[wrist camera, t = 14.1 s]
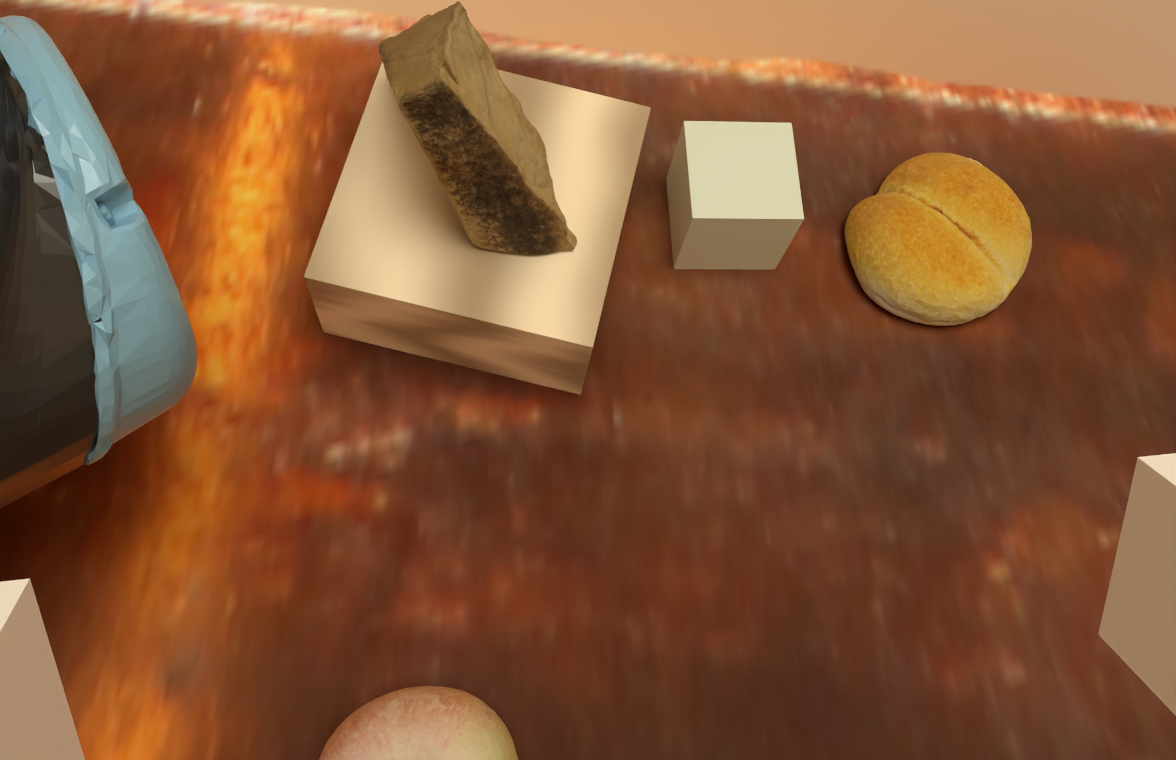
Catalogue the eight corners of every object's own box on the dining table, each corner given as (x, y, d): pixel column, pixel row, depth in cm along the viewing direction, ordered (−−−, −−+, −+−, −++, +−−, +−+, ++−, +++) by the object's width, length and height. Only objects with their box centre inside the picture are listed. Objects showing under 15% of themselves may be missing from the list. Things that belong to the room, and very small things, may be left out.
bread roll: (809, 254, 51) (834, 213, 47) (919, 151, 54) (951, 105, 50) (937, 369, 50) (974, 336, 46) (1044, 256, 52) (1087, 217, 49)
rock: (322, 8, 44) (293, 198, 39) (441, -129, 38) (423, 74, 33) (523, 125, 50) (518, 301, 46) (649, 23, 45) (659, 211, 40)
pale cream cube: (673, 269, 50) (692, 218, 45) (666, 179, 52) (683, 120, 47) (774, 270, 51) (804, 219, 46) (764, 180, 52) (791, 122, 48)
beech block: (324, 335, 48) (303, 277, 42) (399, 121, 52) (389, 43, 46) (579, 397, 48) (592, 347, 42) (632, 179, 52) (650, 107, 46)
